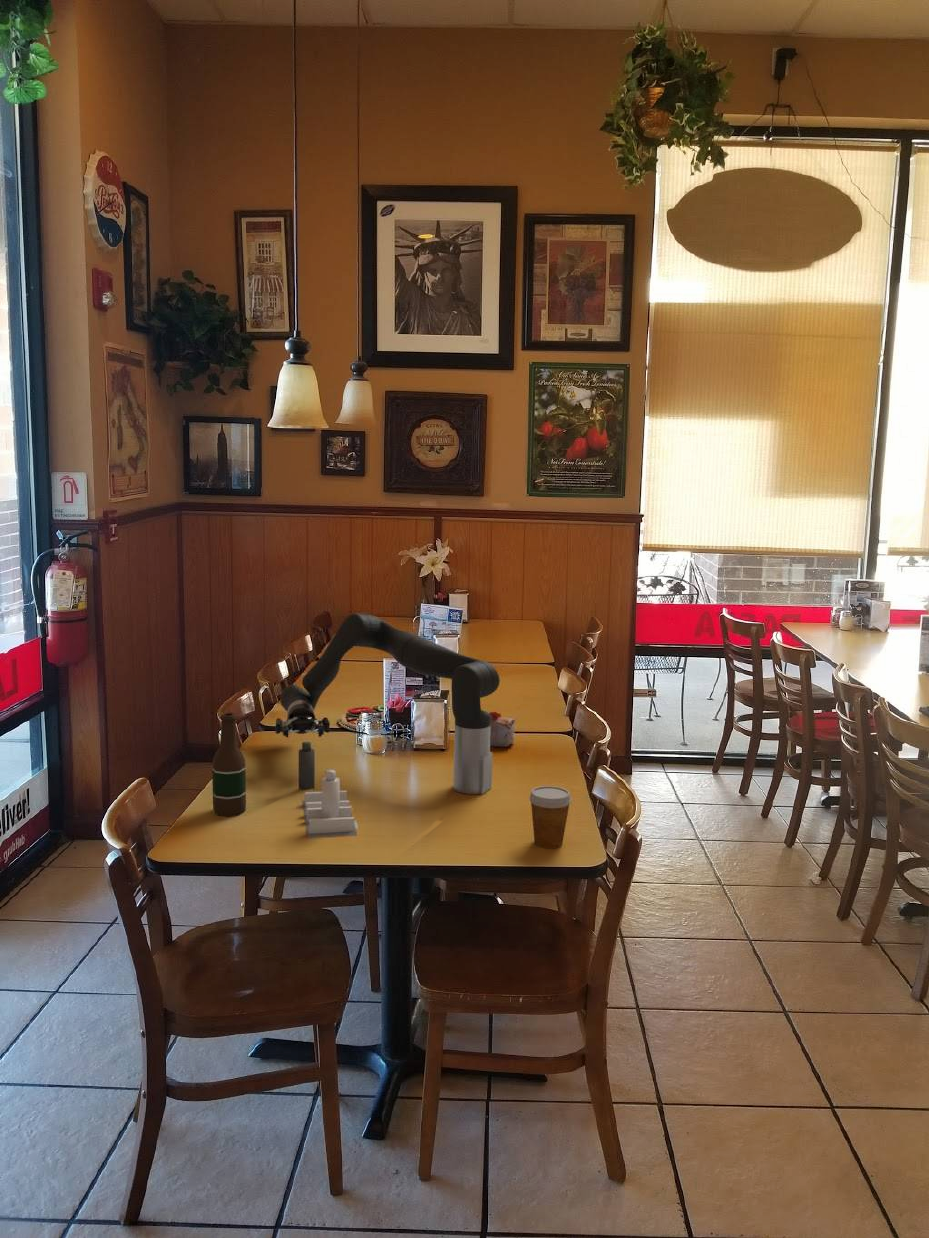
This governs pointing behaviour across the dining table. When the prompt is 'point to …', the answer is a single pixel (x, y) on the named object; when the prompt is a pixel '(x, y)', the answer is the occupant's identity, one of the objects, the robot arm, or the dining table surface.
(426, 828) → the dining table surface
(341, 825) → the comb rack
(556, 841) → the disposable coffee cup
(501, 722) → the food item
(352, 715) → the toy pizza
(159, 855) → the dining table surface
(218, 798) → the beer bottle
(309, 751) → the dark grey bottle
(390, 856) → the dining table surface
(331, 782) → the white bottle
